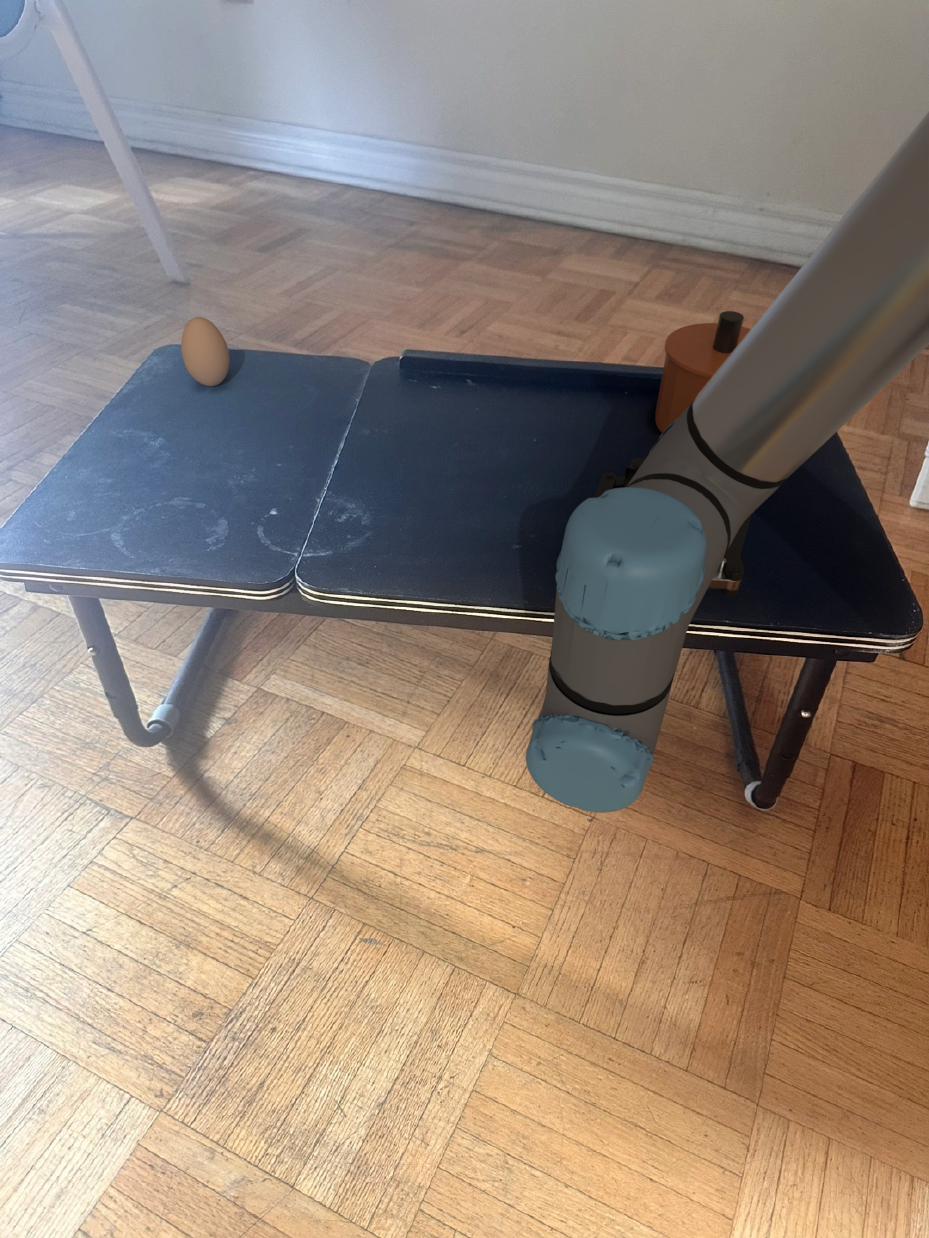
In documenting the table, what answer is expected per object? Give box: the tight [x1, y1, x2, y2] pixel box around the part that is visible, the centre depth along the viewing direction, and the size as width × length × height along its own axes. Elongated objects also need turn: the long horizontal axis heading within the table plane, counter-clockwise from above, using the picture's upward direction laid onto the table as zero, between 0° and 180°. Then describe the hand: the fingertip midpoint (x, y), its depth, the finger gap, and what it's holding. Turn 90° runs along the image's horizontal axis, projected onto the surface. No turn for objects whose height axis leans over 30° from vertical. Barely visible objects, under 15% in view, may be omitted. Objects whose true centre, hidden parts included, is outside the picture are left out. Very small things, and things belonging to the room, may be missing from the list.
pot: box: [654, 353, 711, 434], centre depth 89 cm, size 11×11×8 cm
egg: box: [180, 316, 231, 387], centre depth 96 cm, size 5×5×8 cm
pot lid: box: [664, 310, 752, 378], centre depth 85 cm, size 12×12×5 cm
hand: (690, 454), depth 75 cm, fingers closed on lemon, 5 cm apart
